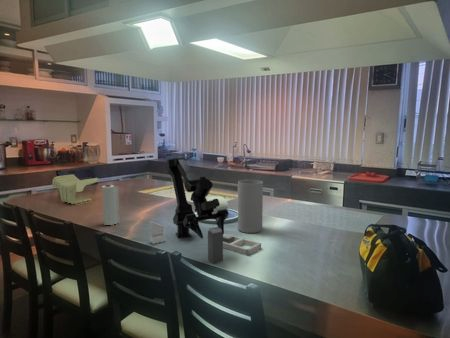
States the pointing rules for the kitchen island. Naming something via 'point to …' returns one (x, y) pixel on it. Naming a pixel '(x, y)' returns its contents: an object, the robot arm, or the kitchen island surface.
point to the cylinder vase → (250, 206)
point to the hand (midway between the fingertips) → (213, 236)
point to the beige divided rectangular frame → (235, 242)
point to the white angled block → (156, 233)
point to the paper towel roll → (110, 204)
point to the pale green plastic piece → (71, 187)
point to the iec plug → (215, 245)
